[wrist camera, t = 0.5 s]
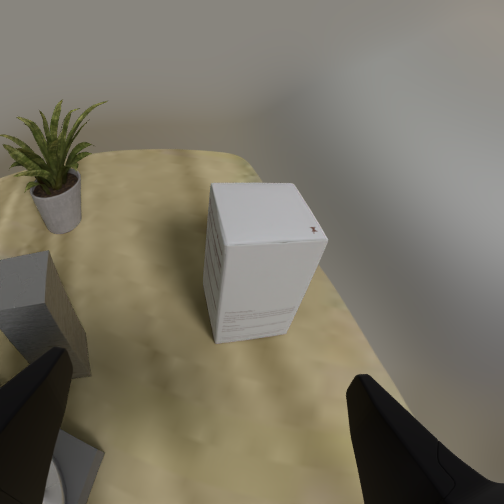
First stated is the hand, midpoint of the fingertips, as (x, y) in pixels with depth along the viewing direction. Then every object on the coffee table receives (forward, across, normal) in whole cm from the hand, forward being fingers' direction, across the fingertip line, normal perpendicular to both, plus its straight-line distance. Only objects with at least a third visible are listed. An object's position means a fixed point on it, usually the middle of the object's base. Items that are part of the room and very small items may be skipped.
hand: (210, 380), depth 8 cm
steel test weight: (+11, +13, +14) cm, 22 cm away
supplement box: (+19, -3, +12) cm, 22 cm away
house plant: (+30, +21, +9) cm, 37 cm away
